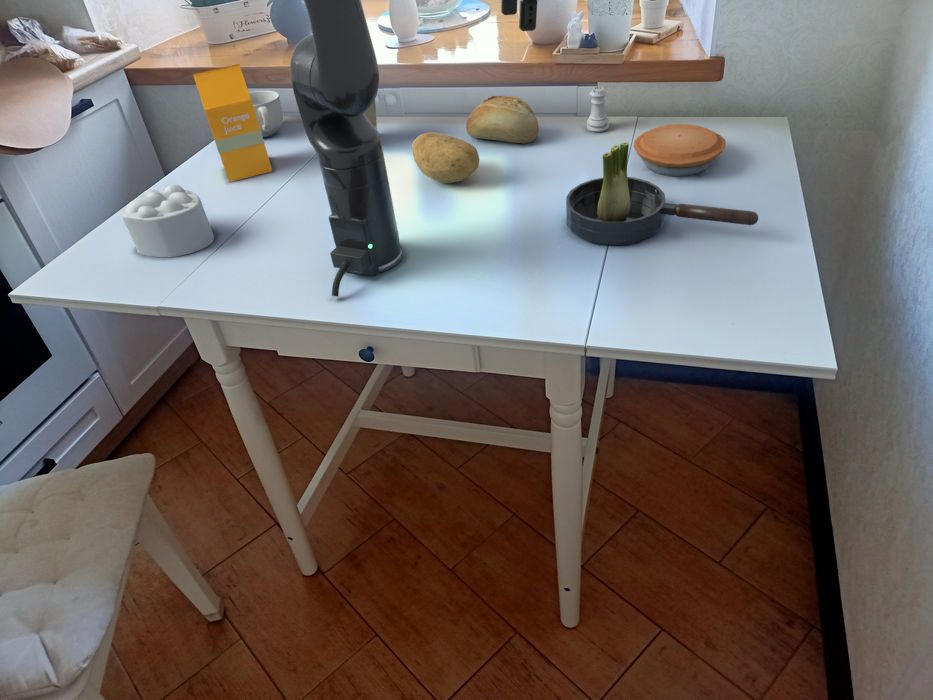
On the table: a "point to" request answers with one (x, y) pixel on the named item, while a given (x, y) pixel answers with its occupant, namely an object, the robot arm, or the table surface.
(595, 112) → the rook chess piece
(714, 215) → the pan handle
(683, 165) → the pie
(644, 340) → the table surface
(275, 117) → the teacup
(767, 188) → the table surface
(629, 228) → the pan
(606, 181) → the fennel bulb
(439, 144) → the potato
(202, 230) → the lumpy-topped squat cylinder
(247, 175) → the orange juice
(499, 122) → the bread roll
